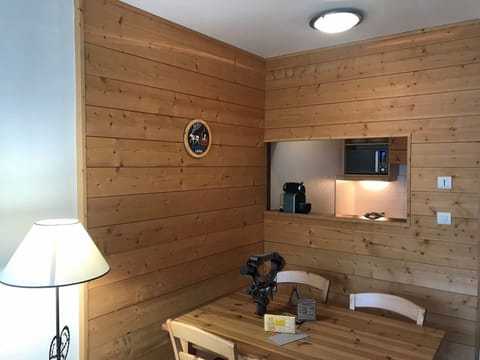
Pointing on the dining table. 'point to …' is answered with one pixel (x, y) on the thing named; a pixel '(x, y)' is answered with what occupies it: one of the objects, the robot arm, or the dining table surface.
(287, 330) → the candy box
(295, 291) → the phone stand
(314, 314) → the small box
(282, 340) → the placemat
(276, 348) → the dining table surface
